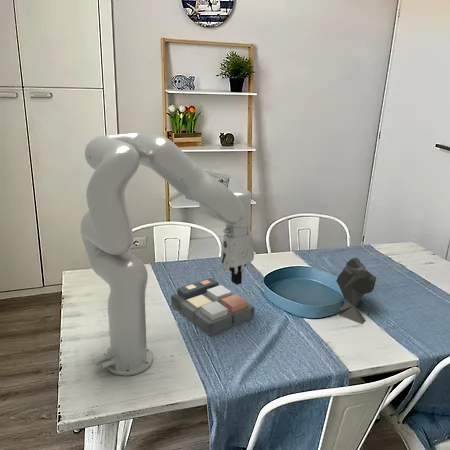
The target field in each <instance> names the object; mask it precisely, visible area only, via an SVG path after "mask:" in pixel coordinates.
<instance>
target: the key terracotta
mask: <svg viewBox="0 0 450 450" xmlns="http://www.w3.org/2000/svg"><path fill="white" fill-rule="evenodd" d="M234 294H235V293H234ZM247 303H248V301H247V300H246V299H244V298H242V297H241V296H239V295H238V294H235V295H232V296H229V297H226V298H223V299H221V305H223V306H224V307H226V308H227V309H228V311H230V312H231V313H232V314H233V313H235V312H238V311H240V310H243V309H245V308H247Z"/></svg>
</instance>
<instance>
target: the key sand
mask: <svg viewBox="0 0 450 450" xmlns="http://www.w3.org/2000/svg"><path fill="white" fill-rule="evenodd" d="M187 303H188V304H189V305H191V306H192V307H193V308H195V309H196V310H199V309H201V306H204V305H207V304H209V303H212V301H210V300H209V299H208V298H206V297H205V296H203V295H199V296H196V297H193V298H190V299H187Z"/></svg>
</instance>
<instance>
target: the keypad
mask: <svg viewBox="0 0 450 450" xmlns="http://www.w3.org/2000/svg"><path fill="white" fill-rule="evenodd" d="M219 285H220V284H219V281H217V280H215V279H214V278H212V277H209V278H206V279H205V278H204V279H202V280H200V281H196V282H193V283H190V284H186V285H184V286H180V287H178V288H177V290H176V291H177V293H174V294H171V296H170V297H171V298H170V299H171V300H170V302H171V303H170V306H171V307H172V308H173V309H175V310H176V311H177V312H178V313H180V314H181V315H182V316H184V317H185V318H186V319H187V320H189V321H190V322H191V323H193V324H194V325H195V326H197V328H199V329H200V330H201V331H202V332H204V334H206V335H208V337H211V336H213V335H215V334H218V333H220V332H223V331H226V330H227V329H230V328H232V327H235V326H238V325H240V324H242V323H245V322H247V321H249V320H250V321H251V320H252V319H254V317H255V306H253V305H252V304H251V303H249V302H247V308H245V309H243V310H240V311H238V312H235V313H233V314H232V313H231V312H230V311H228V315H227V316H225V317H222V318H220V319H217V320H215V321H211V320H209V319H208V318H207V317H205V316H204V315H203V314H201V309H199V310H196V309H195V308H193V307H192V306H191V305H189V304H188V303H187V299H190V298H193V297H196V296H199V295H203V296H205V297H206V298H208V299H209V300H210V301H212V302H215V301H213V300H212V299H210V298H209V297H208V296H207V289H210V288H213V287H216V286H219ZM232 295H235V293H233V292H232ZM219 303H220V304H221V302H219Z"/></svg>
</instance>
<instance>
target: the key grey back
mask: <svg viewBox="0 0 450 450" xmlns="http://www.w3.org/2000/svg"><path fill="white" fill-rule="evenodd" d="M232 293H233V292H232V291H231V290H229V288H226V287H225V286H223V285H221V284H219V286H216V287H213V288H210V289H207V296H208V297H209V298H210V299H212V300H213V301H217V302H218V303H219V302H221V299H223V298H226V297H229V296H232Z"/></svg>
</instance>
